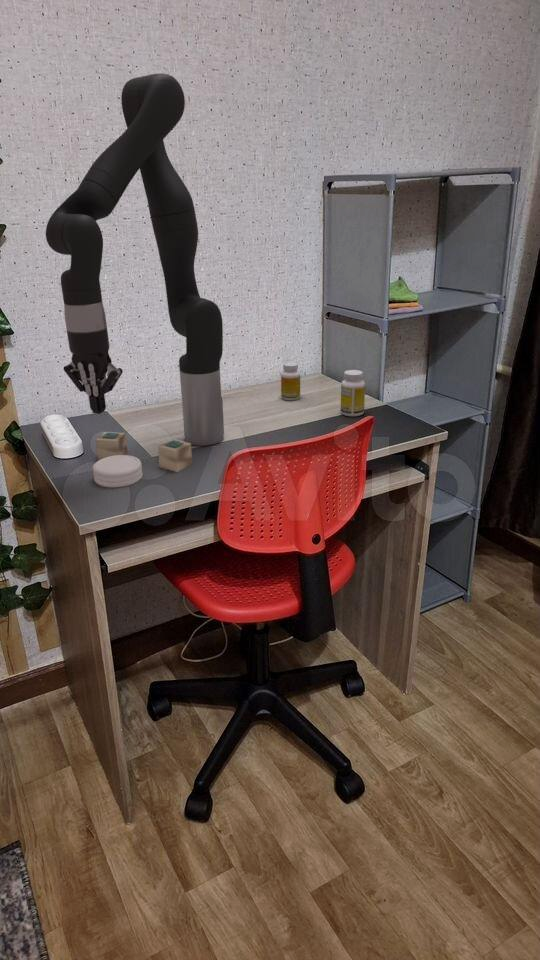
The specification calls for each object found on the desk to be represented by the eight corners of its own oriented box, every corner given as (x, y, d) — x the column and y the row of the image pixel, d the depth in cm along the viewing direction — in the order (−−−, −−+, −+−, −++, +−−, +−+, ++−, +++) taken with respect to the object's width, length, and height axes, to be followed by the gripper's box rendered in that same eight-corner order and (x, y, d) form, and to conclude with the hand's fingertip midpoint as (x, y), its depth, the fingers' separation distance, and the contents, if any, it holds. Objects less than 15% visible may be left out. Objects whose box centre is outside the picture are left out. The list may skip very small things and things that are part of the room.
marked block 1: (107, 452, 155) (104, 430, 153) (127, 453, 154) (125, 431, 152) (98, 460, 150) (95, 438, 148) (119, 461, 150) (117, 439, 147)
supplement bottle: (300, 400, 186) (300, 366, 182) (281, 400, 186) (280, 366, 182) (299, 394, 191) (300, 361, 187) (281, 394, 191) (280, 361, 187)
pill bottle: (363, 409, 179) (365, 369, 174) (364, 417, 173) (366, 375, 168) (340, 409, 179) (341, 368, 175) (340, 416, 174) (341, 375, 169)
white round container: (124, 465, 148) (123, 450, 147) (152, 477, 142) (150, 462, 140) (85, 479, 142) (83, 464, 140) (112, 493, 135) (110, 477, 134)
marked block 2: (175, 459, 150) (173, 437, 148) (192, 464, 148) (190, 442, 145) (159, 467, 146) (157, 444, 144) (177, 472, 144) (175, 449, 142)
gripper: (127, 324, 129) (136, 410, 136) (71, 320, 134) (83, 403, 141) (103, 333, 122) (115, 422, 130) (45, 328, 127) (60, 414, 135)
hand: (98, 412), depth 135 cm, fingers closed
